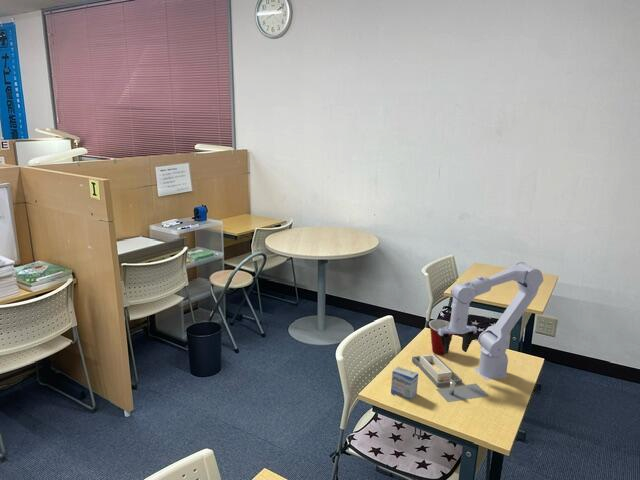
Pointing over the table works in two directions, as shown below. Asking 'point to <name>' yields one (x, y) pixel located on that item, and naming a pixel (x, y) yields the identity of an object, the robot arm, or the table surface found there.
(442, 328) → the robot arm
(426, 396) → the table surface
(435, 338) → the plastic cup
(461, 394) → the stake base
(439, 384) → the tray
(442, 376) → the cream rectangular sleeve
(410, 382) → the medicine box
